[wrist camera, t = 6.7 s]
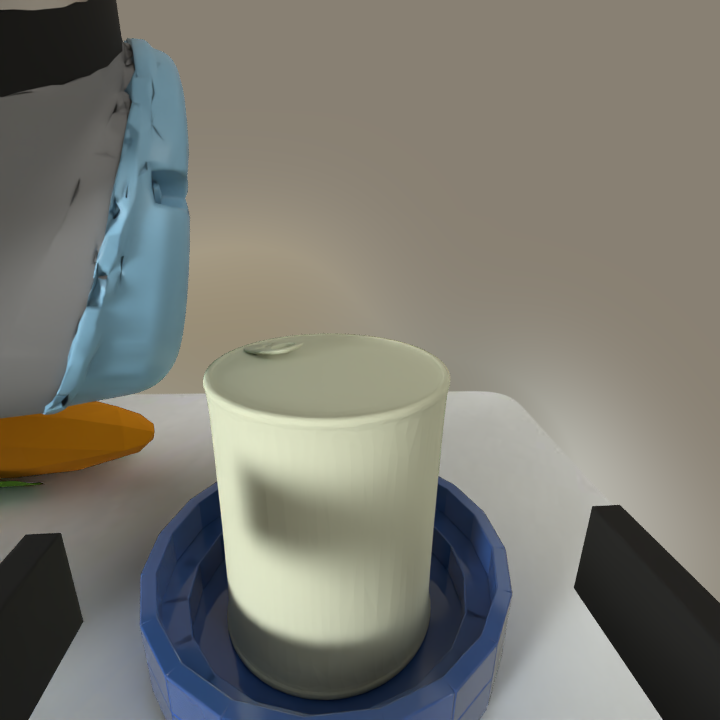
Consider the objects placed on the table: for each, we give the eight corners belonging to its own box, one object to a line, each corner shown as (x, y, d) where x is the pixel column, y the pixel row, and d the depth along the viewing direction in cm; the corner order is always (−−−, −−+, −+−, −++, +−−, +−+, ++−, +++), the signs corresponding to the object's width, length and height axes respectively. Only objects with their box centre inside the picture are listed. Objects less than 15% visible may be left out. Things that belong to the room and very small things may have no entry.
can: (308, 509, 26) (303, 314, 23) (457, 570, 22) (483, 343, 18) (181, 628, 19) (140, 366, 15) (369, 756, 15) (381, 437, 11)
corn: (-118, 347, 31) (171, 351, 31) (-77, 439, 34) (186, 443, 34) (-255, 397, 24) (118, 402, 24) (-187, 508, 27) (143, 512, 27)
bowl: (70, 659, 18) (52, 591, 17) (298, 474, 30) (296, 427, 29) (420, 958, 11) (431, 878, 10) (528, 558, 23) (538, 502, 22)
